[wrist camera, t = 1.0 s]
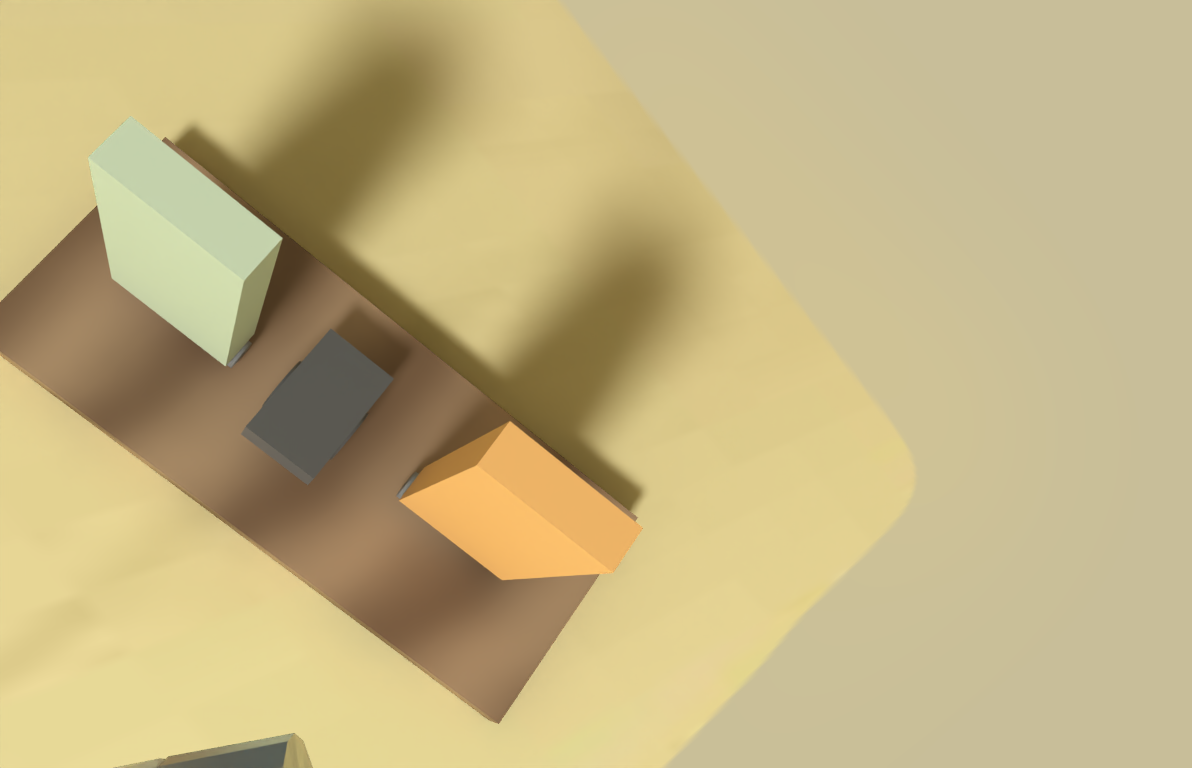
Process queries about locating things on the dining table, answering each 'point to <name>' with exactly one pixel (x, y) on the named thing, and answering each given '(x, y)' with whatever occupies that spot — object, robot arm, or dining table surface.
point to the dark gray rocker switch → (317, 407)
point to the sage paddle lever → (182, 242)
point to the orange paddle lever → (519, 509)
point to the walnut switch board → (268, 490)
